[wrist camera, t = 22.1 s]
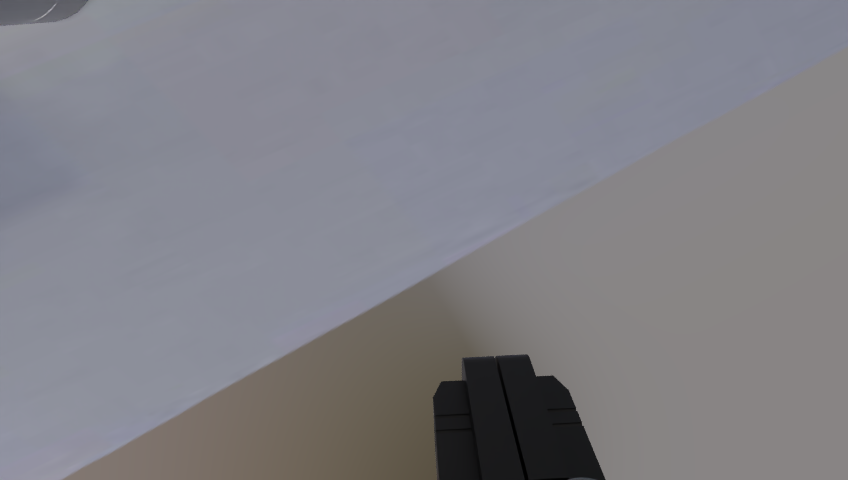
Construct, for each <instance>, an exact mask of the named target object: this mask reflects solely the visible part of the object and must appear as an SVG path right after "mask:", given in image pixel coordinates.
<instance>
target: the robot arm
mask: <svg viewBox="0 0 848 480" xmlns="http://www.w3.org/2000/svg"><path fill="white" fill-rule="evenodd" d="M87 1H88V0H0V26H6V25H20V24H32V23H44V22H55V21H59V20H62V19H66V18H68V17H70V16H72V15H73V14H75V13H77V12H78V11H79V10H80V9H81V8H82V7H83V6H84V5H85V4H86V2H87ZM433 405H434V406H433V407H434V431H435V432H434V433H435V452H436V453H435V454H436V468H437V480H605V477H604V475H603V473H602V470H601V468H600V465H599V463H598V460H597V458H596V456H595V453H594V451H593V448H592V446H591V443H590V441H589V439H588V436H587V434H586V431H585V429H584V426H582V422H581V419H580V417H579V414H578V412H577V411H576V407H575V405H574V402H573V400H572V397H571V395H570V393H569V390H568V389H567V388H566V387H564V386H563V385H562V384H561V383H560V382H559V381H558V380H557V379H556V378H555V377H554V376H537V377H536V375H535V372H534V369H533V367H532V364H531V361H530V358H529V356H528V355H505V356H496V357H495V358H494V356H490V357H489V356H488V357H469V358H462V381H443V382H441V383H440V385H439V387H438V389H437V391H436V393H435V395H434V397H433Z"/></svg>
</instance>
